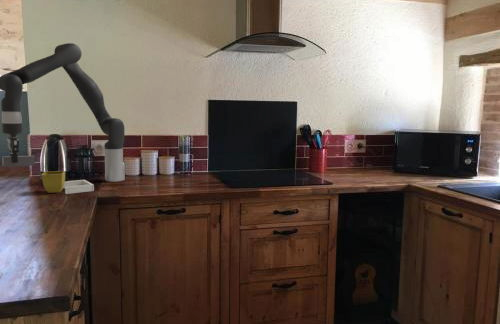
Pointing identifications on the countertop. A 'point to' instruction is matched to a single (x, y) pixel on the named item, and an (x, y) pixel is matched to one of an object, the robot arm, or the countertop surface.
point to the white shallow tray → (78, 186)
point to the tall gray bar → (21, 161)
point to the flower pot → (53, 181)
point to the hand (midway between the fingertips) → (14, 162)
